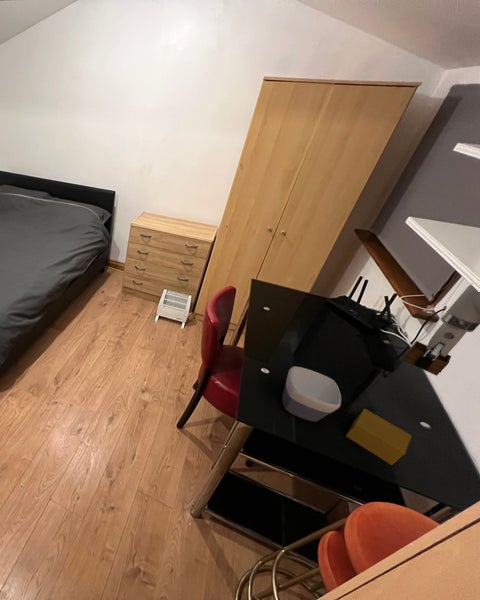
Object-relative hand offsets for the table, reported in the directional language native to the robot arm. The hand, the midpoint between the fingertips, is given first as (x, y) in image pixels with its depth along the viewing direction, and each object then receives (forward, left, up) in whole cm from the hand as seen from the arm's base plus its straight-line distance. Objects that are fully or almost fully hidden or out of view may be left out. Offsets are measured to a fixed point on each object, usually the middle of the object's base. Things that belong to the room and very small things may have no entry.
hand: (422, 362), depth 109 cm
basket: (0, 0, -1) cm, 1 cm away
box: (-1, +30, -17) cm, 35 cm away
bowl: (+19, +35, -18) cm, 44 cm away
